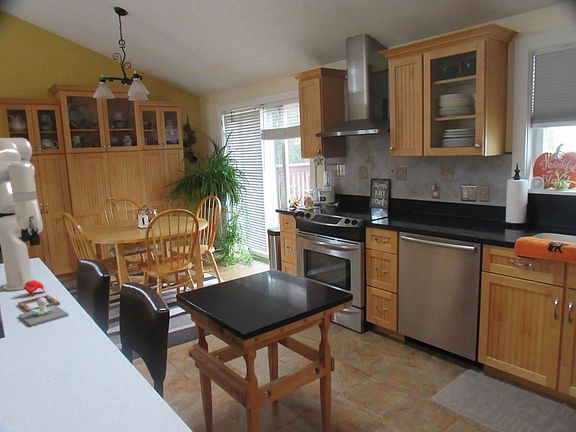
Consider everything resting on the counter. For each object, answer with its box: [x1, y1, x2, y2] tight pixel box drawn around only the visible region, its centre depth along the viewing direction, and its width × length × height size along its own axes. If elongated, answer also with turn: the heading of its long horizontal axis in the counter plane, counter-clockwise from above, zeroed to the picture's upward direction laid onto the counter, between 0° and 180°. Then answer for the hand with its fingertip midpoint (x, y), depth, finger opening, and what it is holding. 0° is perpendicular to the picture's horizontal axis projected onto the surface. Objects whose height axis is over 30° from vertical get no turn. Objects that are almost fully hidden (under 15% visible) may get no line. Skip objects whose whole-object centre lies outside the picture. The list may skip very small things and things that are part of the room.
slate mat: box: [18, 305, 69, 328], centre depth 153 cm, size 14×12×1 cm
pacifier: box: [31, 298, 54, 316], centre depth 153 cm, size 7×6×6 cm
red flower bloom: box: [23, 280, 46, 297], centre depth 179 cm, size 8×6×6 cm
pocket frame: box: [17, 294, 61, 313], centre depth 166 cm, size 14×11×1 cm
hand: (31, 243), depth 158 cm, fingers open, 9 cm apart
